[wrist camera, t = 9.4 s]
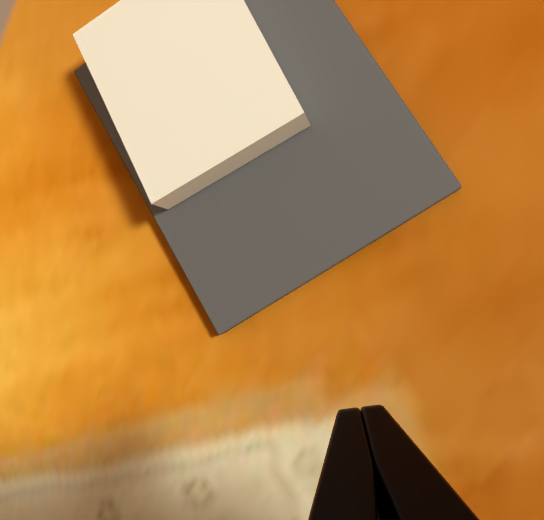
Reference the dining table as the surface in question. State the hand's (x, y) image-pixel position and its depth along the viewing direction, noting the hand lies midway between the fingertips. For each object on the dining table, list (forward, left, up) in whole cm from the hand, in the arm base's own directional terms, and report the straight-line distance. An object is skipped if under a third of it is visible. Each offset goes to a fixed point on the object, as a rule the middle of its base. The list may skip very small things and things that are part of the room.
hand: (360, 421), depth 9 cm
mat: (+11, 0, -11) cm, 16 cm away
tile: (+10, +1, -10) cm, 14 cm away
